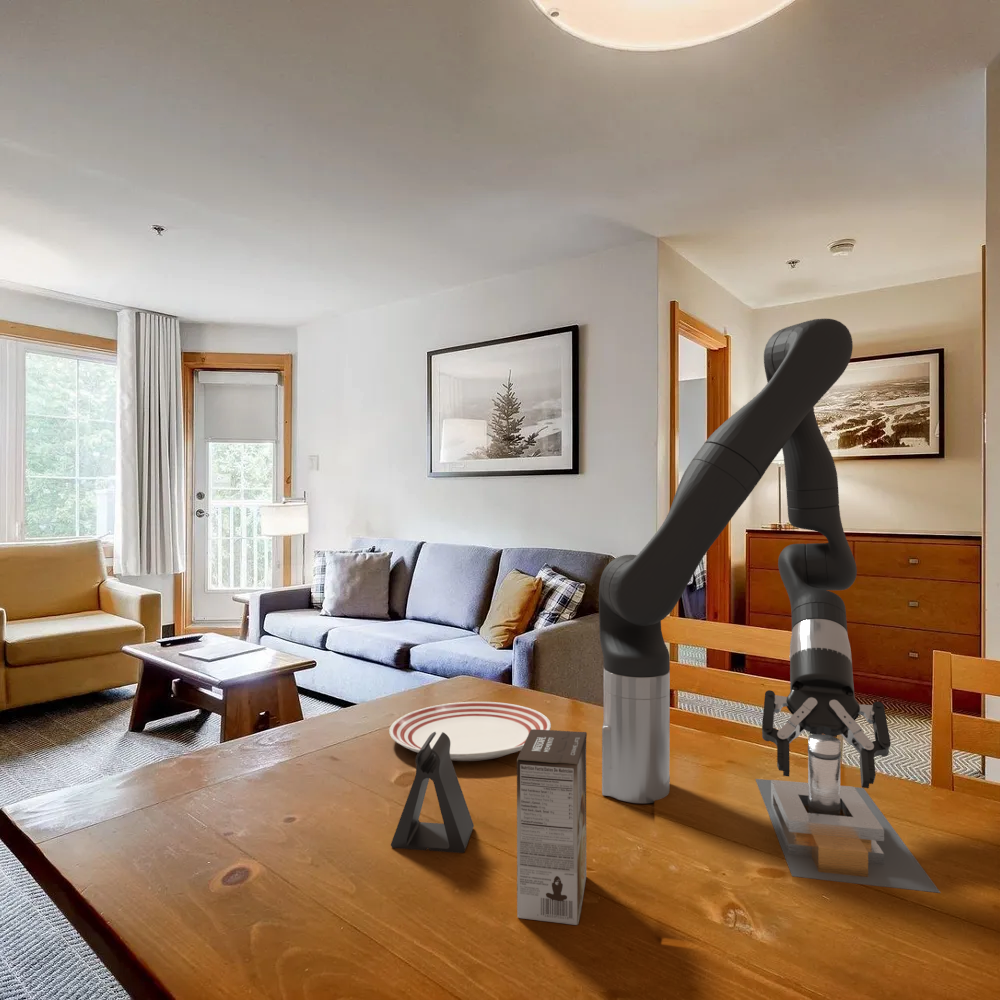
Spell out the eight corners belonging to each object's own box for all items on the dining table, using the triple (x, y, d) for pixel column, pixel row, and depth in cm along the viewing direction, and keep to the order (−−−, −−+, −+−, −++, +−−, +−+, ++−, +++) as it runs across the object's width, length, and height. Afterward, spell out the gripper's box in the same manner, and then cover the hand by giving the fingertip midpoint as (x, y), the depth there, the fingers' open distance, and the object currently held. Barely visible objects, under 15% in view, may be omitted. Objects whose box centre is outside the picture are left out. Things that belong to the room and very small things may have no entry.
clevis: (794, 869, 75) (794, 833, 75) (771, 810, 90) (771, 779, 90) (893, 879, 73) (893, 843, 73) (853, 817, 87) (853, 786, 87)
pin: (811, 843, 81) (811, 743, 81) (804, 828, 84) (804, 732, 84) (844, 847, 80) (844, 745, 80) (835, 831, 84) (836, 734, 83)
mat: (792, 880, 74) (792, 875, 74) (755, 782, 100) (755, 778, 100) (940, 897, 71) (940, 892, 71) (863, 791, 96) (863, 788, 96)
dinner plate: (354, 749, 113) (354, 729, 113) (456, 707, 135) (456, 690, 135) (490, 790, 97) (490, 767, 97) (579, 734, 120) (579, 715, 120)
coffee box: (529, 869, 76) (530, 726, 76) (587, 876, 75) (587, 730, 75) (515, 919, 67) (515, 757, 67) (580, 928, 66) (580, 762, 66)
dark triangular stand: (474, 828, 86) (474, 733, 86) (464, 853, 80) (465, 751, 80) (404, 823, 87) (404, 730, 87) (390, 847, 81) (390, 747, 81)
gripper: (763, 641, 92) (760, 756, 81) (883, 650, 86) (897, 775, 76) (763, 671, 97) (761, 783, 86) (877, 681, 91) (890, 802, 81)
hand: (825, 779), depth 81 cm, fingers open, 8 cm apart
